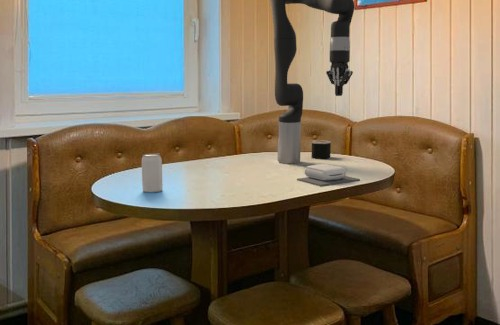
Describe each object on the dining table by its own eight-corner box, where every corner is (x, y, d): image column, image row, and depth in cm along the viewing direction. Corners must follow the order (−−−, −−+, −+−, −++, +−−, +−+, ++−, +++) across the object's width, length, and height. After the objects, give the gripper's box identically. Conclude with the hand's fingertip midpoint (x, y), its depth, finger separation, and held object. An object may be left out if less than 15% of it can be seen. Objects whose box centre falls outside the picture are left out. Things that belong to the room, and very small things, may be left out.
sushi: (326, 159, 241) (326, 141, 240) (308, 158, 246) (308, 140, 244) (333, 157, 248) (333, 139, 247) (316, 155, 252) (316, 138, 251)
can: (143, 189, 183) (142, 153, 181) (163, 188, 184) (162, 152, 182) (141, 193, 177) (140, 156, 175) (161, 192, 177) (160, 155, 175)
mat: (297, 180, 197) (297, 178, 197) (335, 174, 206) (335, 173, 206) (320, 186, 186) (320, 184, 186) (359, 180, 195) (359, 179, 195)
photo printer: (325, 162, 204) (348, 167, 194) (325, 174, 205) (348, 179, 195) (304, 165, 199) (326, 170, 188) (303, 177, 199) (326, 182, 189)
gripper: (320, 50, 212) (320, 95, 214) (344, 48, 201) (343, 96, 203) (335, 50, 216) (334, 94, 218) (359, 49, 204) (358, 96, 207)
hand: (338, 95), depth 211 cm, fingers closed
